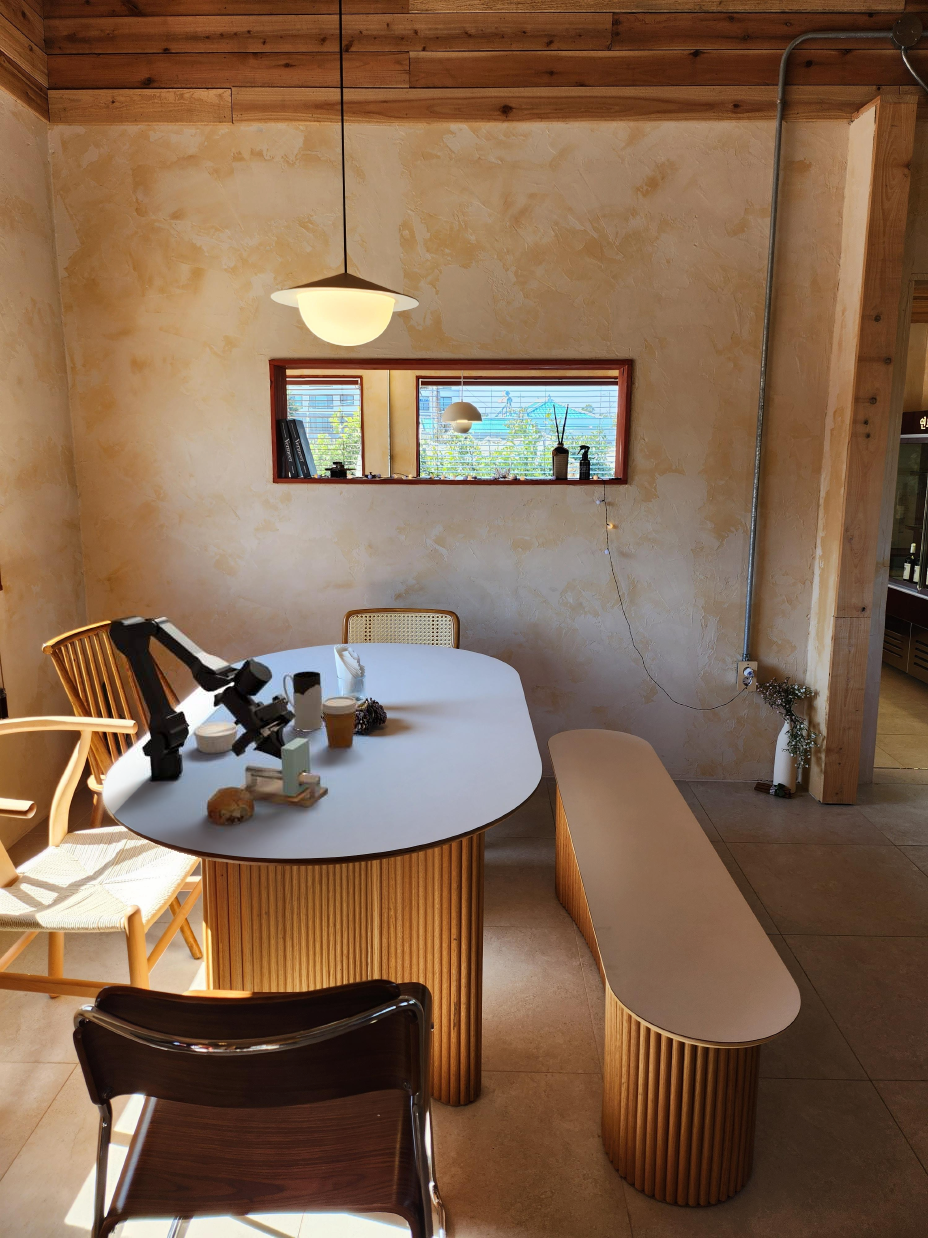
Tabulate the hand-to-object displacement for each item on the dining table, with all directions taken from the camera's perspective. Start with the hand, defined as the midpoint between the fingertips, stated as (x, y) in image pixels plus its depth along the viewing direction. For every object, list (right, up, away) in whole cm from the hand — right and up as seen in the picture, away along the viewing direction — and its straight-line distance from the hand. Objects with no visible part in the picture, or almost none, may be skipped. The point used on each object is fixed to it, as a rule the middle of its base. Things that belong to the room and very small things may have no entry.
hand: (288, 760), depth 186 cm
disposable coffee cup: (+7, -2, +34) cm, 34 cm away
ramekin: (-26, -2, +32) cm, 41 cm away
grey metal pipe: (-2, -7, +2) cm, 8 cm away
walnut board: (-2, -8, +2) cm, 9 cm away
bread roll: (-11, -11, -9) cm, 17 cm away
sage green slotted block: (+2, -7, +1) cm, 7 cm away
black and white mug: (-7, +2, +50) cm, 51 cm away
